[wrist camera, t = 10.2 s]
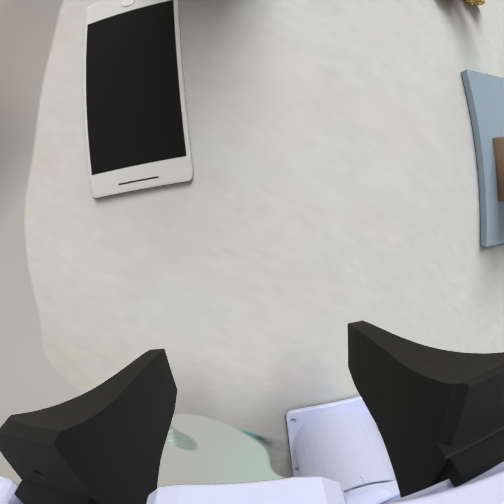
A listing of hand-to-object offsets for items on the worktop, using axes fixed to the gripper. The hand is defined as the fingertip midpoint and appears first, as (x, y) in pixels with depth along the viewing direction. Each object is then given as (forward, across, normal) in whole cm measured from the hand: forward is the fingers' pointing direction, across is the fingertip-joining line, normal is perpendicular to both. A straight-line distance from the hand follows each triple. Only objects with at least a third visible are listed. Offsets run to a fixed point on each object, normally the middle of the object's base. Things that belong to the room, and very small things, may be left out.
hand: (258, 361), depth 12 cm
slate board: (+9, -24, -7) cm, 27 cm away
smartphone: (+10, +6, -15) cm, 19 cm away
